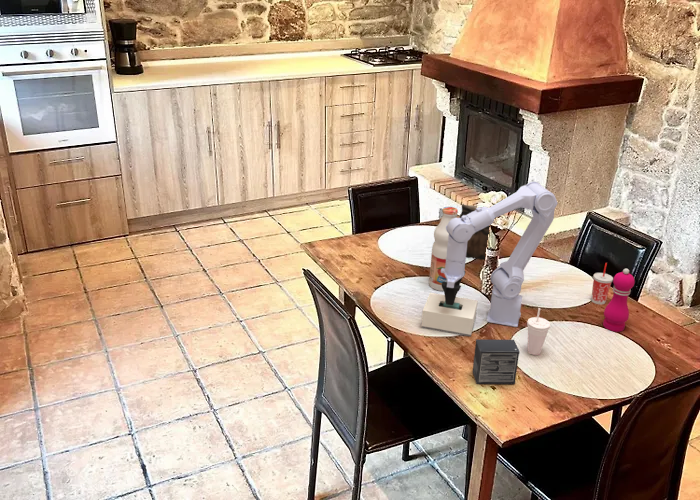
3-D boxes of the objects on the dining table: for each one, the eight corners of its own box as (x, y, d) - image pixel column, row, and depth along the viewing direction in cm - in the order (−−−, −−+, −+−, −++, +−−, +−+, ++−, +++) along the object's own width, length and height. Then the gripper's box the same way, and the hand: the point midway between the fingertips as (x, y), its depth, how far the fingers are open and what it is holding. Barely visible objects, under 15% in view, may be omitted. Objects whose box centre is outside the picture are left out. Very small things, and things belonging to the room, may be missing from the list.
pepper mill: (610, 333, 206) (623, 275, 198) (596, 322, 212) (608, 264, 204) (630, 331, 208) (644, 273, 199) (616, 319, 214) (629, 262, 206)
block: (457, 320, 209) (459, 303, 207) (456, 324, 207) (458, 307, 204) (443, 317, 210) (445, 300, 208) (441, 321, 208) (443, 304, 206)
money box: (475, 317, 212) (477, 300, 210) (470, 336, 202) (472, 319, 199) (428, 309, 216) (430, 292, 213) (421, 327, 205) (422, 310, 203)
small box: (509, 370, 186) (514, 338, 182) (515, 385, 180) (520, 351, 176) (471, 370, 186) (475, 337, 181) (476, 384, 180) (480, 351, 175)
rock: (497, 259, 252) (504, 209, 244) (468, 263, 248) (474, 212, 239) (479, 246, 263) (485, 197, 255) (451, 250, 258) (456, 200, 250)
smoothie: (528, 343, 200) (535, 301, 194) (549, 351, 196) (556, 308, 190) (518, 351, 195) (525, 309, 189) (539, 360, 191) (547, 317, 186)
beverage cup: (587, 302, 224) (594, 264, 218) (590, 294, 229) (598, 257, 223) (606, 307, 221) (614, 268, 215) (609, 299, 226) (617, 261, 220)
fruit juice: (444, 277, 237) (452, 202, 226) (462, 288, 230) (470, 211, 218) (423, 282, 233) (429, 206, 221) (440, 294, 225) (448, 216, 214)
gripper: (446, 246, 207) (442, 285, 213) (438, 266, 194) (434, 307, 200) (469, 249, 205) (464, 289, 211) (462, 269, 193) (458, 311, 198)
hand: (451, 298), depth 205 cm, fingers open, 7 cm apart
